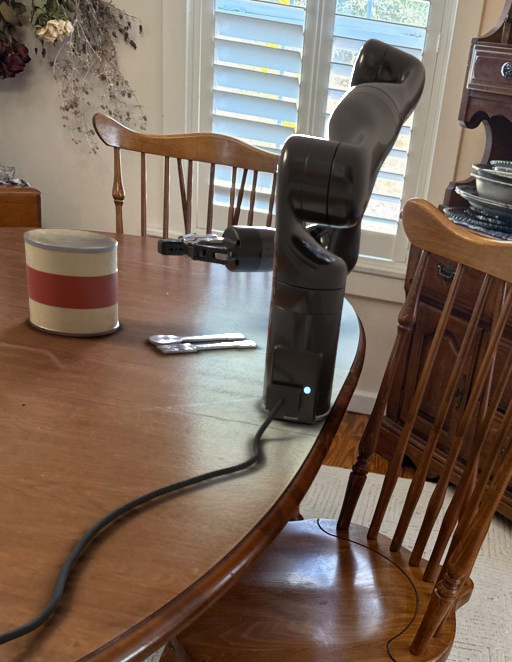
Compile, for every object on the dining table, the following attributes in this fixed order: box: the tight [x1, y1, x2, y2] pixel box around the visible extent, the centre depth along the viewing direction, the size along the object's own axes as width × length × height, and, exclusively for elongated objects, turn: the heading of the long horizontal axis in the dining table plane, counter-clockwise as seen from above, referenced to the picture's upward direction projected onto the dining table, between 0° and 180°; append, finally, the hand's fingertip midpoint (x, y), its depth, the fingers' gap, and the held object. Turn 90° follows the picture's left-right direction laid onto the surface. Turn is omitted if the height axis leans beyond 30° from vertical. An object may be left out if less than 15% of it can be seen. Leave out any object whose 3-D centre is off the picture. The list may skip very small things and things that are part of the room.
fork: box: [156, 340, 257, 355], centre depth 121 cm, size 16×3×1 cm, turn 126°
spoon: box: [148, 332, 246, 346], centre depth 124 cm, size 16×4×1 cm, turn 126°
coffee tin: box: [23, 228, 120, 338], centre depth 119 cm, size 13×13×13 cm
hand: (159, 247), depth 125 cm, fingers closed
